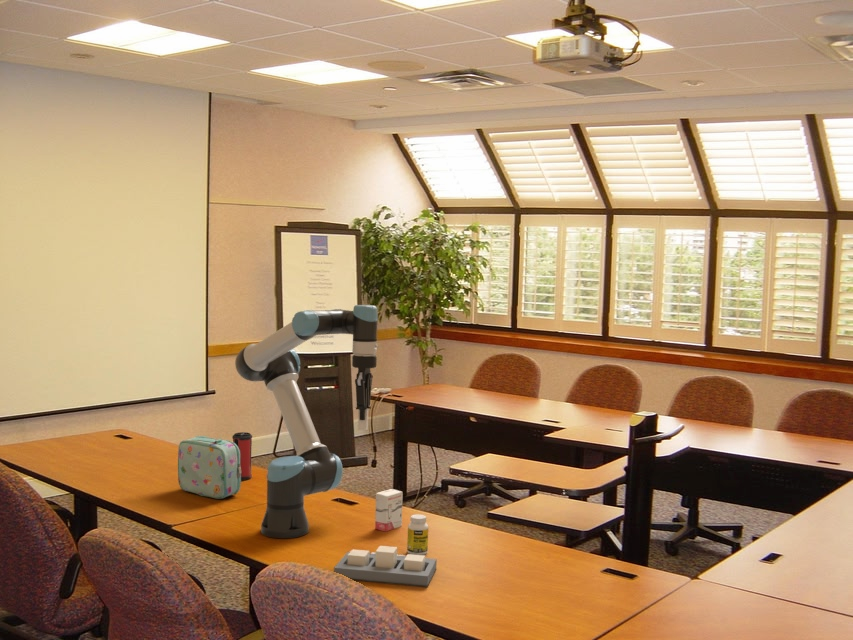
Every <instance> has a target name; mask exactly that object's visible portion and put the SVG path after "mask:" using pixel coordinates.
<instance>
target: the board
mask: <svg viewBox="0 0 853 640" xmlns="http://www.w3.org/2000/svg"><path fill="white" fill-rule="evenodd" d="M350 552H351V551H349V550H348V551H347V552H346V553H345V554H344V556H343V557H342V558H341V559H340V560H339V561H338V563H337V564H335V566H334V568H333V573H334V572H336V573H339V574H342V575H344V576H346V577H348V578H350V579H353V580H352V581H357V582H359V581H360V582H367V583H369V582H370V583H376V584H377V583H379V584H389V585H398V586H399V585H402V586H409V587H410V586H412V587H422V588H428V587H429V585H430V583H431V581H432V579H433V577H434V575H435V573H436V571H437V559H436V558H430V557H429V558H427V557H425V571H416V570H405V569H404V559H405V558H406V556H397V564H396V565H395V567H394V568H383V567H375V564H376V554H372V552H371V553H369V565H368V566H360V565H349V564H347V561H348V554H349V553H350Z"/></svg>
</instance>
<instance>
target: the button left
mask: <svg viewBox="0 0 853 640" xmlns="http://www.w3.org/2000/svg"><path fill="white" fill-rule="evenodd" d="M349 552H350V553H349V554H348V561H347V564H349V565H360V566H368V565H369V553H370V550H367V549H366V550H364V549H354V548H353V549H351V550H350V551H349Z"/></svg>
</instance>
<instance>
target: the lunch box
mask: <svg viewBox="0 0 853 640" xmlns="http://www.w3.org/2000/svg"><path fill="white" fill-rule="evenodd" d="M177 452H178V453H177V480H178V485H179V488H180V489H181V490H182V491H185V492H190V493H193V494H196V495H199V496H201V497H206V498H207V497H209V498H213V499H219V500H220V499H221V500H222V499H225V498H227V497H230V496H233V495H237V494H238V493H239V491H240V490H241V483H242V480H241V473H242V472H241V467H240V450H239V448H238V446H237V445H236V444H235V443H233V441H231V440H228V439H222V438H219V439H217V438H215V437H214V438H213V437H210V436H205V435H197V436H195V437H191V438H189V439H185V440H182V441H181V440H180V443H179V445H178V451H177Z"/></svg>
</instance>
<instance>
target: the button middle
mask: <svg viewBox="0 0 853 640" xmlns="http://www.w3.org/2000/svg"><path fill="white" fill-rule="evenodd" d="M375 553H376V564H375V567H383V568H394V567H395V565H396V564H397V555H398V546H389V545H379V546H378V547H377V549H376V550H375Z"/></svg>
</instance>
